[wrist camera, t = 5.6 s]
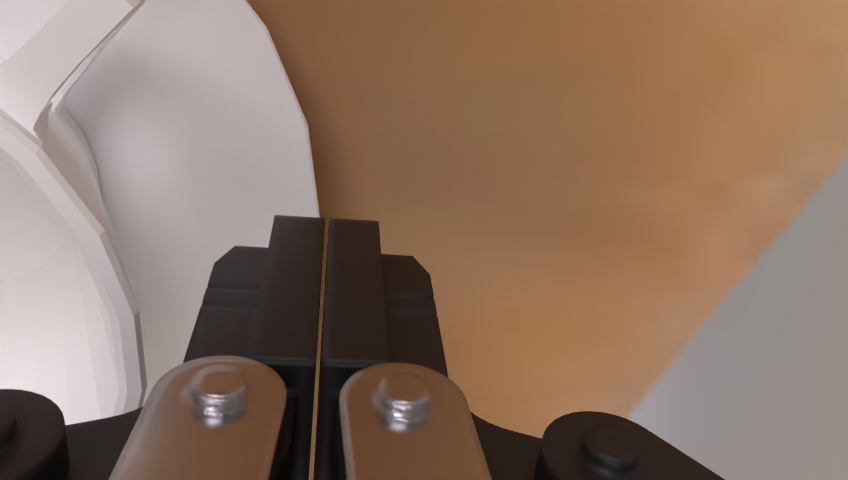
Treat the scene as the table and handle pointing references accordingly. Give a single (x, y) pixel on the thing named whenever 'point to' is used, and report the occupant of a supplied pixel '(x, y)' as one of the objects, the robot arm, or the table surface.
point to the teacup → (132, 184)
